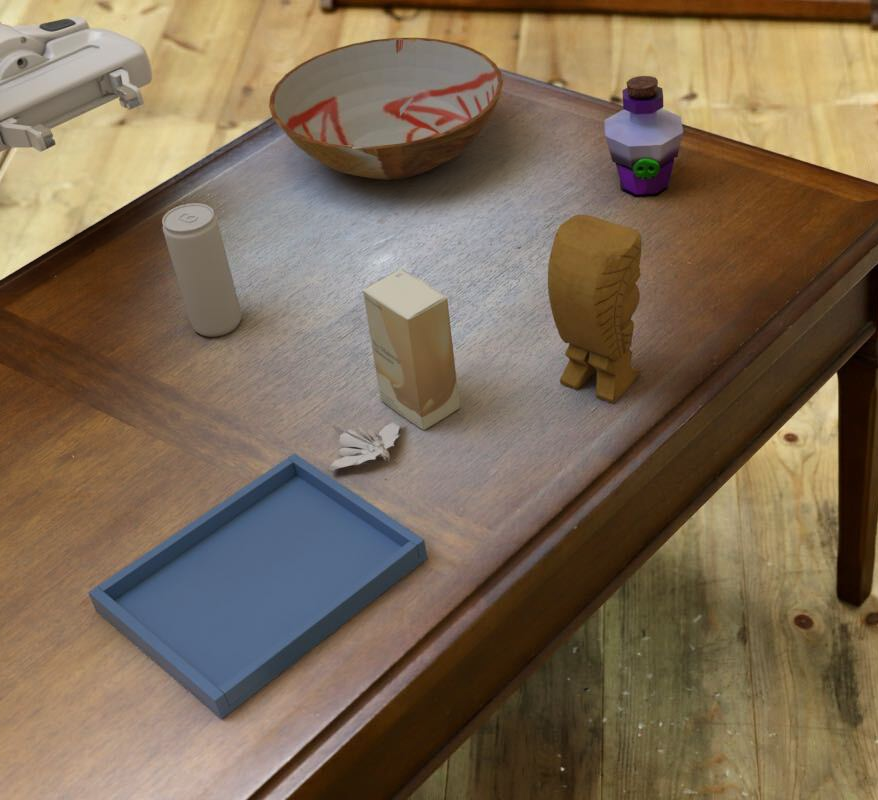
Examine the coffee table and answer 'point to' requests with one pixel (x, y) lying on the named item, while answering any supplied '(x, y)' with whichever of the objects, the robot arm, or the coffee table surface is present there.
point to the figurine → (595, 301)
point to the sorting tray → (257, 582)
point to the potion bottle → (643, 139)
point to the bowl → (387, 105)
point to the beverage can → (202, 268)
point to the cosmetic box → (412, 348)
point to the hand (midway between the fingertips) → (92, 120)
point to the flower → (365, 445)
